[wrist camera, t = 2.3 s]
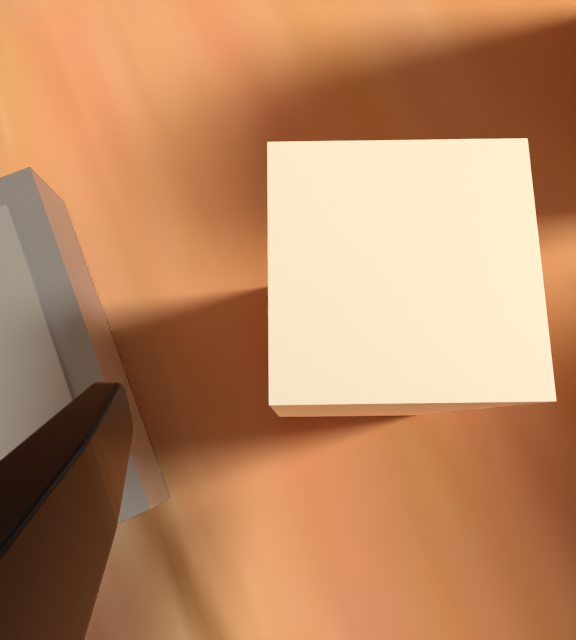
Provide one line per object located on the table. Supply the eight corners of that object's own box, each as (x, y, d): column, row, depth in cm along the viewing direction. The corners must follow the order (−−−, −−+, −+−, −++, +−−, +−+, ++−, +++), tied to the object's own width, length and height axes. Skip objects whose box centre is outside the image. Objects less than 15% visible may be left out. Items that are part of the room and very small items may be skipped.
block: (416, 415, 18) (556, 401, 8) (279, 417, 18) (268, 405, 8) (408, 283, 19) (527, 138, 9) (278, 284, 19) (267, 141, 9)
